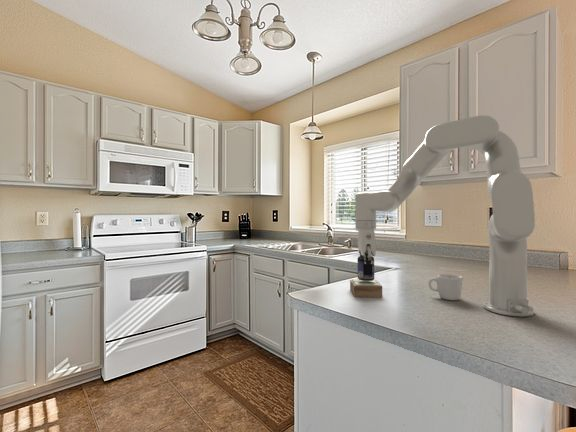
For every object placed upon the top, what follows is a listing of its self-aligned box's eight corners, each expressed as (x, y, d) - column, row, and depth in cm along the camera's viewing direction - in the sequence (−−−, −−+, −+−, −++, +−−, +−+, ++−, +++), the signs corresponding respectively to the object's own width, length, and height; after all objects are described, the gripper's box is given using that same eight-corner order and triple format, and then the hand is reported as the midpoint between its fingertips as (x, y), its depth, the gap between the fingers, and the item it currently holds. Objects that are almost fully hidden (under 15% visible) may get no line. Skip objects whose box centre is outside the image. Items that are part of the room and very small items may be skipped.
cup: (427, 299, 107) (427, 276, 107) (429, 293, 114) (429, 272, 114) (463, 303, 102) (463, 279, 102) (462, 297, 109) (462, 275, 109)
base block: (382, 297, 110) (382, 285, 110) (354, 296, 110) (354, 285, 110) (375, 290, 120) (375, 279, 120) (350, 289, 120) (350, 279, 120)
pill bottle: (376, 281, 112) (376, 251, 111) (359, 281, 112) (359, 251, 112) (372, 277, 118) (371, 249, 118) (356, 277, 118) (356, 249, 118)
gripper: (381, 226, 106) (381, 278, 106) (370, 224, 123) (371, 268, 123) (359, 226, 106) (360, 277, 106) (352, 224, 123) (352, 268, 124)
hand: (366, 272), depth 115 cm, fingers closed on pill bottle, 6 cm apart
